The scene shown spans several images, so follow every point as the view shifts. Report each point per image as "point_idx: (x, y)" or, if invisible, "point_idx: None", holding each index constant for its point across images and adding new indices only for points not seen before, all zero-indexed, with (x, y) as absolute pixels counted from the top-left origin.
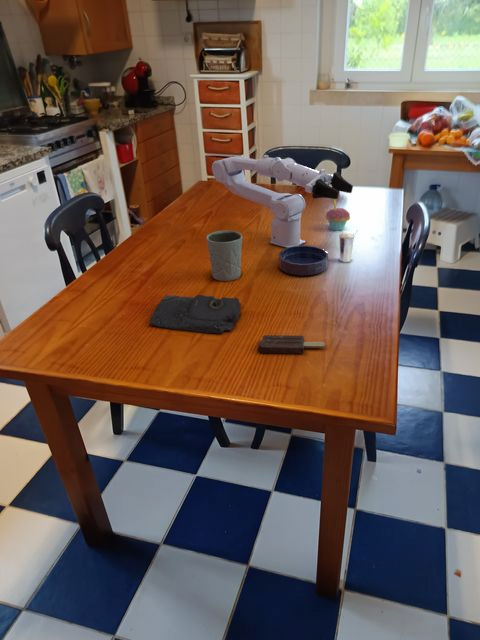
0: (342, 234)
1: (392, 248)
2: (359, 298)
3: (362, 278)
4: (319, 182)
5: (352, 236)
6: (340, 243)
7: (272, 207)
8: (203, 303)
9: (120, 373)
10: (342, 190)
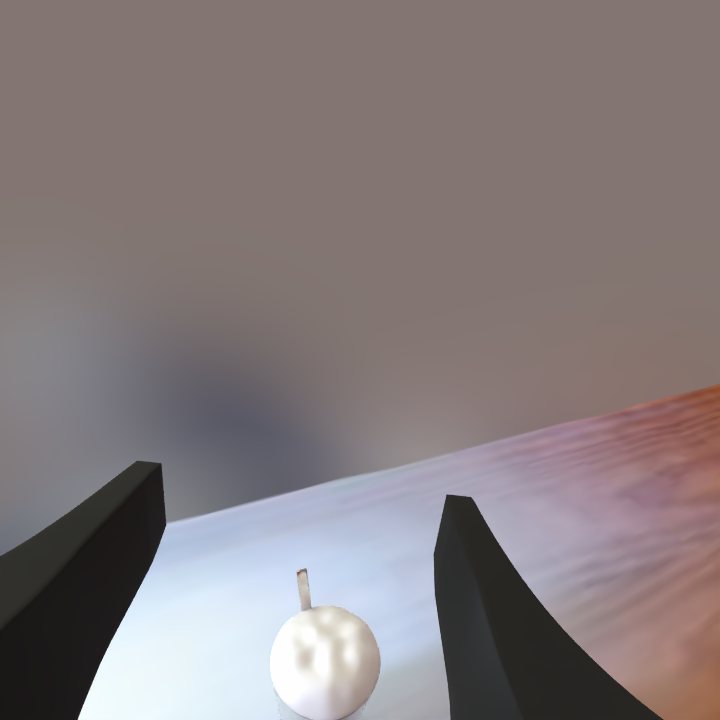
0: (366, 669)
1: None
2: (604, 514)
3: None
4: (645, 709)
5: (339, 607)
6: (361, 713)
7: None
8: None
9: None
10: (110, 628)
